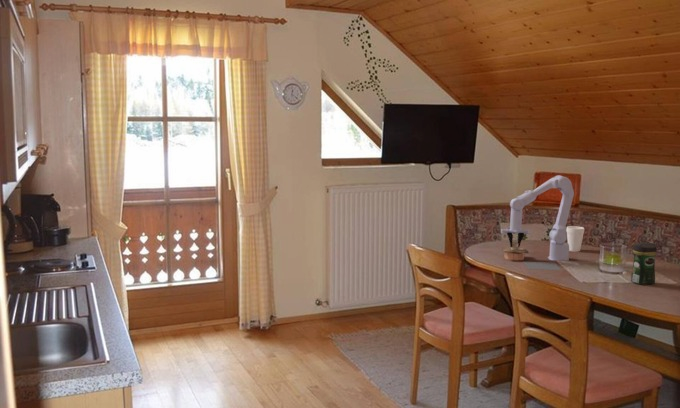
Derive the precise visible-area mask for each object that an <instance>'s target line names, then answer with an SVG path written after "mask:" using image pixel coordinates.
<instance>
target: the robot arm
mask: <svg viewBox="0 0 680 408" xmlns="http://www.w3.org/2000/svg"><path fill="white" fill-rule="evenodd" d="M572 183H573V182H572V181H571V180H570V178H568V177H566V176H563V175H560V174H558V175H555V176H553V177H551V178H550V179H547V180H546V181H545V182H543V183H542V184H540V185H539V186H538V187H537V188H535V189H533V190H530V189H529V190H525V191H524V193H522V194H520V195H518V196H516V198H512V199H511V201H510V202H509V206H510V218H509V219H510V221H509V228H501V229H500V233H501V234H506V235H507V238H508V240H509V245H510V247H509V248H511V247H512V242H513V238H514V237H513V236H514V235H513V234H517V243H518V248H521V247H520V246H521V243H522V241H523V239H524V237H525V234H527V235H531V230H530V229H524V228H523V229H522V223H523V222H522V220H523V210H524V207H525V206H527V205H528V204H530V203H532V202H534V201H535V200H536V199H537V196H539V195H541V194H543V193H544V192H546V191H548V190H550V189H558V190H559V191H560V193H561V194H562V197H561V201H560V204H559V209H558V212H557V215H556V221H555V223H554V225H553V226H552V229H551V230H550V232H549V233H548V234H549V235H548V236H549V239H550V240H549V241H550V243H549V256H547V258H548V260H550V261H563V262H564V261H565V262H569V261H570V260H569V258H570V251H569V244H568V242H566V241H567V232H566V230H567V226H566V225H567V223H568V218H569V215H570V211H571V208H572V204H573V199H574V195H575V192H574V188H573V185H572Z"/></svg>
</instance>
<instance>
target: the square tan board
mask: <svg viewBox="0 0 680 408" xmlns="http://www.w3.org/2000/svg"><path fill="white" fill-rule="evenodd" d="M500 250H502V252H503V253H504V254H505V253H524V254H529V251H528V250H527V249H526V248H525V247H518V242H514V241H512V247H501V249H500Z"/></svg>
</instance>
